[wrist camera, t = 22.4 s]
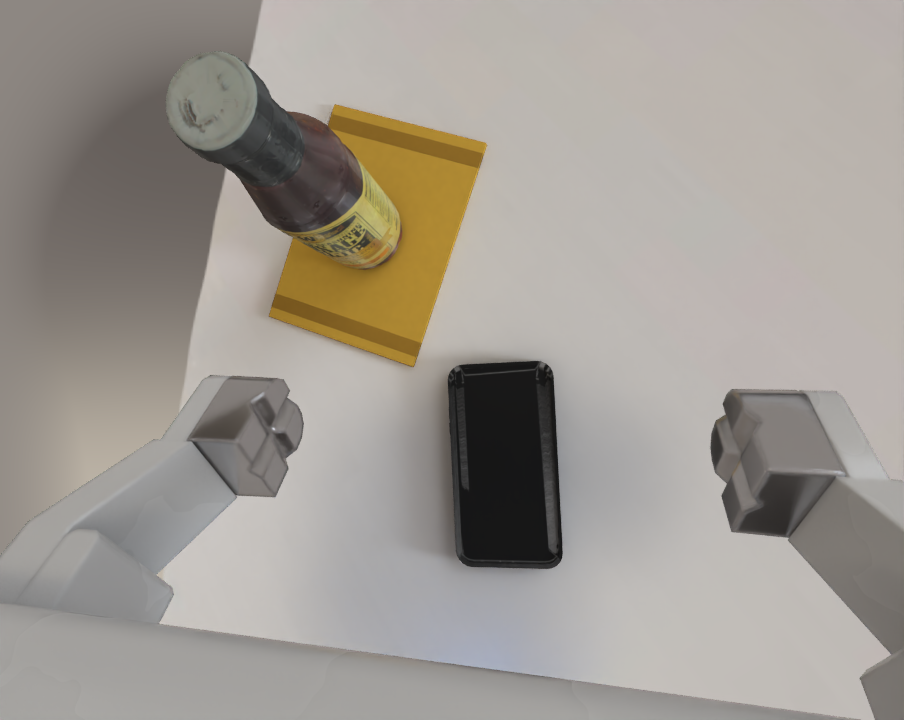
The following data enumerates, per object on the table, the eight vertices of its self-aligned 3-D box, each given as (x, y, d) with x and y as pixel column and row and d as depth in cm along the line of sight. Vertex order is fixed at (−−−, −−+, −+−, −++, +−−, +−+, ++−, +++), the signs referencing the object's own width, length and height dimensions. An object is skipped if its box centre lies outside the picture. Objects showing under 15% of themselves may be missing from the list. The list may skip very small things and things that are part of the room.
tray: (414, 366, 38) (412, 366, 38) (271, 316, 41) (268, 316, 40) (486, 145, 37) (486, 142, 37) (336, 106, 40) (334, 103, 39)
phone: (552, 360, 35) (563, 569, 35) (552, 360, 36) (562, 563, 36) (445, 365, 37) (455, 566, 36) (448, 365, 38) (457, 560, 37)
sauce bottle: (329, 271, 39) (119, 180, 20) (335, 194, 39) (130, 26, 20) (407, 275, 38) (266, 181, 19) (413, 195, 38) (278, 16, 19)
